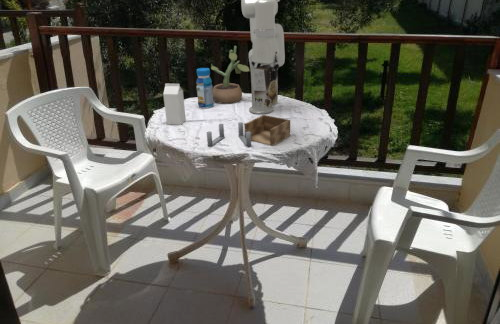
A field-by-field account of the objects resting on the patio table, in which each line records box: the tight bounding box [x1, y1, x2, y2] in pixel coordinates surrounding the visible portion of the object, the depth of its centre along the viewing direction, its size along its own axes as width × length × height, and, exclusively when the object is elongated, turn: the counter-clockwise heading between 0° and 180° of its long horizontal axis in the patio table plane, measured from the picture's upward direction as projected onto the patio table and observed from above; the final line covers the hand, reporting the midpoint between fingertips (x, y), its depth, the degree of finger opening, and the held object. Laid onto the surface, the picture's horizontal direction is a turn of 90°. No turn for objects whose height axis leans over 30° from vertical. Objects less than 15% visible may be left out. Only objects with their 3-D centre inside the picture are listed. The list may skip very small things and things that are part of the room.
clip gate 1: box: [206, 123, 225, 148], centre depth 179 cm, size 12×2×6 cm, turn 155°
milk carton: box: [162, 83, 187, 126], centre depth 201 cm, size 7×7×19 cm
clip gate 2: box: [237, 121, 252, 148], centre depth 179 cm, size 2×14×6 cm, turn 17°
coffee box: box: [254, 65, 279, 109], centre depth 173 cm, size 9×6×16 cm
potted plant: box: [210, 45, 251, 104], centre depth 229 cm, size 22×18×30 cm
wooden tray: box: [243, 114, 291, 147], centre depth 181 cm, size 14×14×7 cm
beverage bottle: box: [195, 67, 215, 109], centre depth 223 cm, size 8×8×20 cm
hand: (266, 78), depth 172 cm, fingers closed on coffee box, 6 cm apart
